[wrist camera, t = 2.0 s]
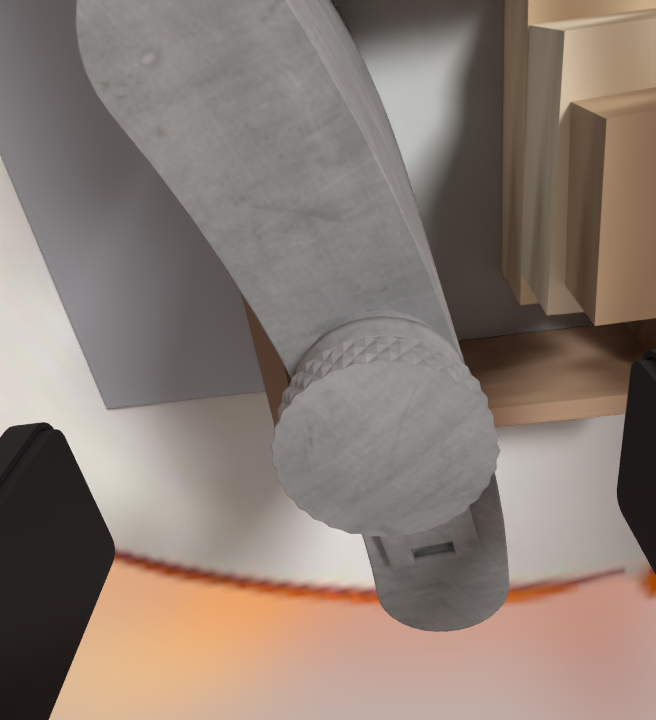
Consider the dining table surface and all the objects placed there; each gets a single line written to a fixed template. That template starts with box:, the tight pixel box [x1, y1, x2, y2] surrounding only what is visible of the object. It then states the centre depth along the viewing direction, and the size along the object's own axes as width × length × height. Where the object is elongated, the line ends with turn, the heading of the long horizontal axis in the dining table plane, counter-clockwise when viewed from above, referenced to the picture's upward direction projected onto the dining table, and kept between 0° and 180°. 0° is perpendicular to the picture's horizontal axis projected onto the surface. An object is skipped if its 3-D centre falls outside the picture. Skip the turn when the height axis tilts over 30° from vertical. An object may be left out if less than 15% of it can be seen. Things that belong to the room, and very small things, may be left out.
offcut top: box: [565, 87, 656, 326], centre depth 18 cm, size 4×6×3 cm, turn 10°
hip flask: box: [75, 0, 509, 632], centre depth 18 cm, size 16×4×20 cm, turn 22°
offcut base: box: [502, 0, 656, 305], centre depth 24 cm, size 5×12×4 cm, turn 8°
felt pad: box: [0, 0, 266, 409], centre depth 28 cm, size 9×20×1 cm, turn 9°
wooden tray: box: [242, 295, 656, 427], centre depth 24 cm, size 18×21×6 cm
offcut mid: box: [521, 7, 656, 315], centre depth 21 cm, size 5×9×4 cm, turn 7°
